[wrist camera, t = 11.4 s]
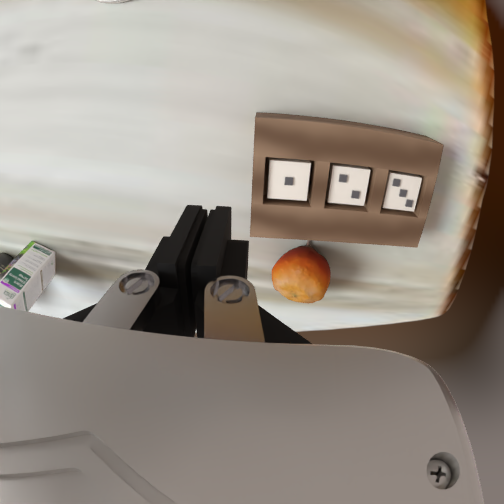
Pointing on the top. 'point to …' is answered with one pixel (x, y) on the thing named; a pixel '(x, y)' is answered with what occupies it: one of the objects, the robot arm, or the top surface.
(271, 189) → the button
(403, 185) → the button
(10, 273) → the syrup box
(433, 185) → the wooden slot board
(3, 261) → the jar
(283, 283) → the fruit
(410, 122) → the top surface
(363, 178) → the button
